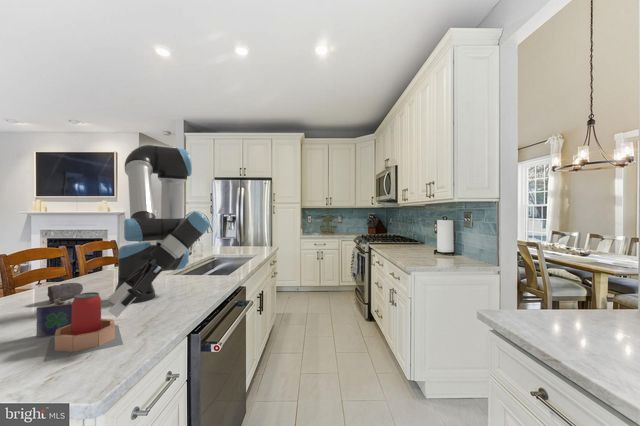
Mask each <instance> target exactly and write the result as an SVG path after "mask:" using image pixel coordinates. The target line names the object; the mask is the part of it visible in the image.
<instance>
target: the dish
mask: <svg viewBox="0 0 640 426" xmlns="http://www.w3.org/2000/svg"><path fill="white" fill-rule="evenodd" d="M115 325H116V324H115V320H114V319H111V318H110V319H109V318H101V330H99V331H96V332H90V333H85V334H80V335H71V324H69V325H67V326H64V327H61V328H59V329H57V330H56V332H55V335H54V337H55V348H54V350H55V351H68V352H74V351H79V350H84V349H88V348H93V347H98V346H100V345H102V344H104V343H106V342H108V341H110V340H112V339H114V338H115Z"/></svg>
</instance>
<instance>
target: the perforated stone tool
mask: <svg viewBox="0 0 640 426" xmlns="http://www.w3.org/2000/svg"><path fill="white" fill-rule="evenodd" d="M83 289H84V286H83V284H81V283H79V282H67V283H60V284H56V285H55V284H54V285H49V286H47V297H48V301H49V302H51V303H54V302H55V301H54V300H55V299H57V298H60V301H63V302H65V301H67V300H70V299H73V298H74V296H76V295H78V294H82V293H83Z"/></svg>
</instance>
